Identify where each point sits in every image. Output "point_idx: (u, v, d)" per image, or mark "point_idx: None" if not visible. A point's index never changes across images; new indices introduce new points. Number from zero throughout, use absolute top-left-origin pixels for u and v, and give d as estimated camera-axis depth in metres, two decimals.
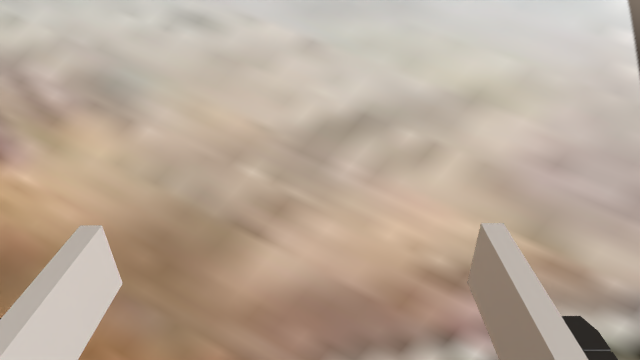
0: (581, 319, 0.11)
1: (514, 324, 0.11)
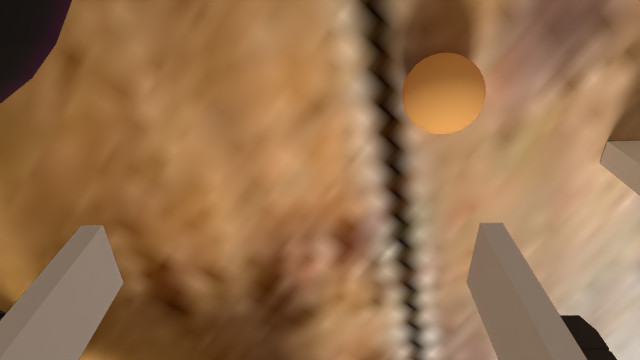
0: (580, 318, 0.11)
1: (513, 323, 0.11)
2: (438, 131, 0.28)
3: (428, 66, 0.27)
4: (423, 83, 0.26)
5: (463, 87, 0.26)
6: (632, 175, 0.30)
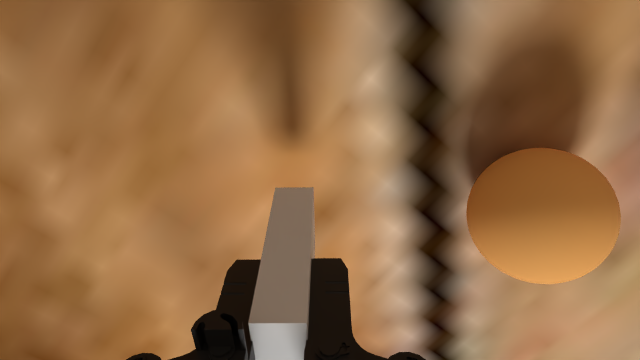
0: (340, 260, 0.13)
1: None
2: (532, 282, 0.16)
3: (524, 180, 0.15)
4: (516, 212, 0.15)
5: (593, 225, 0.14)
6: None
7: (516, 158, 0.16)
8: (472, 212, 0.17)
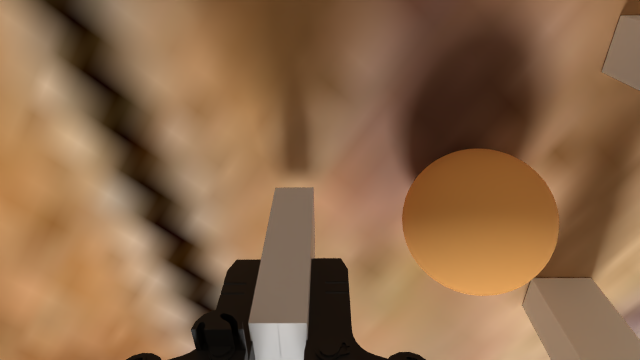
0: (340, 260, 0.13)
1: None
2: None
3: (511, 156, 0.15)
4: None
5: None
6: (561, 355, 0.18)
7: (523, 168, 0.14)
8: None
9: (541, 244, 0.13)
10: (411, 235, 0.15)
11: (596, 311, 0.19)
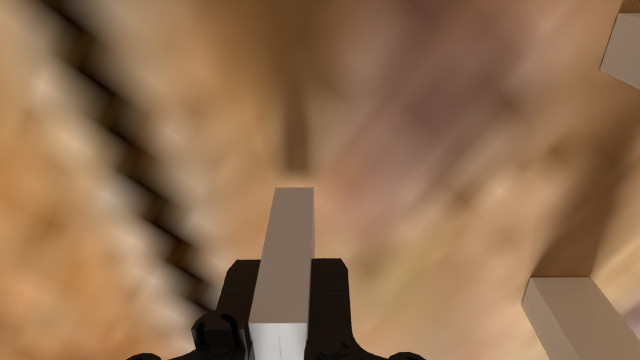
0: (340, 260, 0.13)
1: None
2: None
3: None
4: None
5: None
6: (560, 355, 0.18)
7: None
8: None
9: None
10: None
11: (595, 310, 0.19)
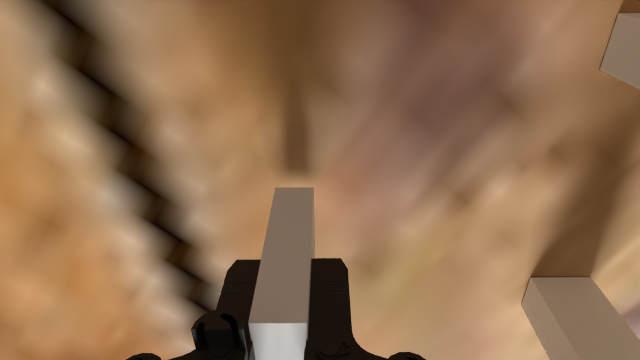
0: (340, 260, 0.13)
1: None
2: None
3: None
4: None
5: None
6: (560, 355, 0.18)
7: None
8: None
9: None
10: None
11: (595, 310, 0.19)
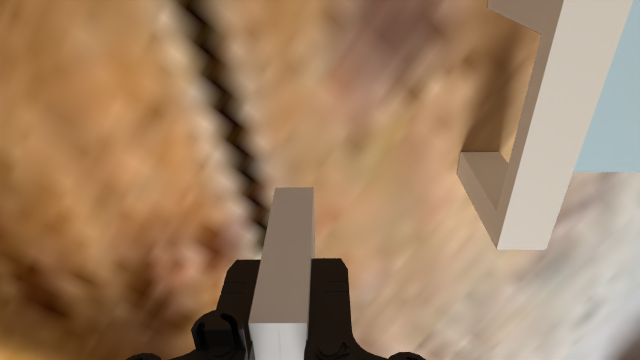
0: (340, 260, 0.13)
1: None
2: None
3: None
4: None
5: None
6: (472, 189, 0.29)
7: None
8: None
9: None
10: None
11: (496, 165, 0.30)
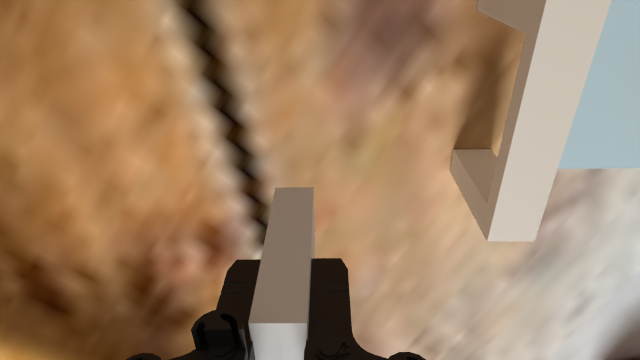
0: (340, 260, 0.13)
1: None
2: None
3: None
4: None
5: None
6: (464, 184, 0.31)
7: None
8: None
9: None
10: None
11: (487, 161, 0.31)
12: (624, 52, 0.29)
